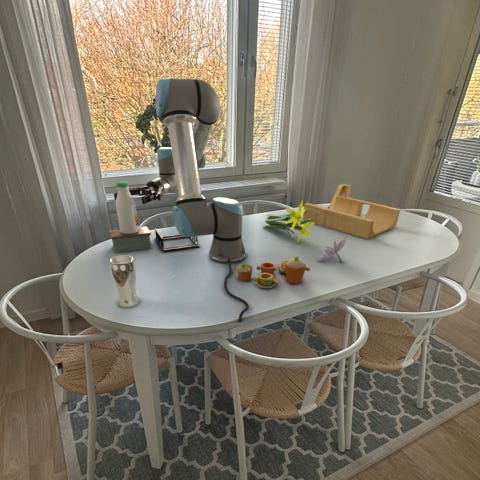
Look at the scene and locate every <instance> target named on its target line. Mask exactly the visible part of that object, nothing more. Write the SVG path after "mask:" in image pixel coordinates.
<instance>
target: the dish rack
mask: <svg viewBox="0 0 480 480" xmlns="http://www.w3.org/2000/svg"><path fill="white" fill-rule="evenodd" d="M154 233H155V237H154V240H155V241H156V243H157V245H158V246H159V248H160V249H161V251H162V253H169V252H176V251H182V250H183V251H184V250H190V249H198V248H200V245H199V240H198V237H199V236H194V237H182V236H181V235H180V234H179V233H178V234H177V233H176V234H170V235H161V233H160V232H159V230H158V228H157V227H156V228H155V227H154ZM187 238H188V239H190V241H191V242H192V243H190V244H184V245H183V244H182V245H181V244H180V245H175V246H167V247H165V244H164V241H170V240H179V239H187Z"/></svg>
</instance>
